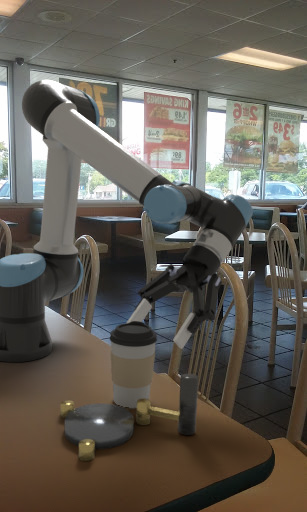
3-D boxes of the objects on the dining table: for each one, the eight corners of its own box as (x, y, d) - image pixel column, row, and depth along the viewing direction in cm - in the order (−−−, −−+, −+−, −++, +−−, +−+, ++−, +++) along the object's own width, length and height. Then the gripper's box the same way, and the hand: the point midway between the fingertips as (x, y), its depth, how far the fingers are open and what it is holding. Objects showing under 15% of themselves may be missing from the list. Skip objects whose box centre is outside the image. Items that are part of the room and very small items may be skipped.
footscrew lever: (133, 424, 82) (135, 370, 81) (139, 416, 85) (141, 364, 84) (192, 437, 79) (195, 382, 77) (197, 429, 81) (200, 375, 80)
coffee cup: (148, 413, 87) (152, 335, 84) (101, 407, 88) (103, 330, 86) (158, 393, 95) (161, 321, 93) (115, 387, 97) (117, 317, 95)
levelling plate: (55, 413, 85) (56, 401, 85) (116, 404, 90) (117, 393, 89) (76, 463, 71) (77, 449, 70) (148, 449, 75) (149, 436, 75)
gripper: (158, 237, 108) (104, 310, 100) (248, 251, 90) (190, 341, 82) (173, 258, 112) (123, 330, 104) (261, 275, 94) (209, 363, 87)
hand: (152, 335), depth 93 cm, fingers open, 13 cm apart
